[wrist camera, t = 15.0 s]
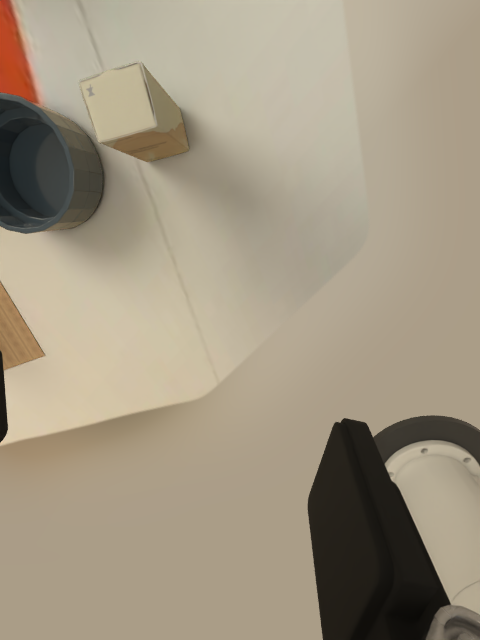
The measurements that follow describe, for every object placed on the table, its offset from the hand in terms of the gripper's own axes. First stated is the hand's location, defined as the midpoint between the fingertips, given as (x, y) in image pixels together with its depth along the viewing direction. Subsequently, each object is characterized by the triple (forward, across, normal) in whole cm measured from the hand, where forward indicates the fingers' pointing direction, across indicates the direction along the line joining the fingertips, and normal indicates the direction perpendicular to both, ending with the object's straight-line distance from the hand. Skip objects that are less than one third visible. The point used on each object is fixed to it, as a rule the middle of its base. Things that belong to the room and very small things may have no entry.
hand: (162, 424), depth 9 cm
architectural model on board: (+31, +38, +12) cm, 50 cm away
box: (+31, +11, -11) cm, 34 cm away
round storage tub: (+30, +23, -5) cm, 38 cm away
